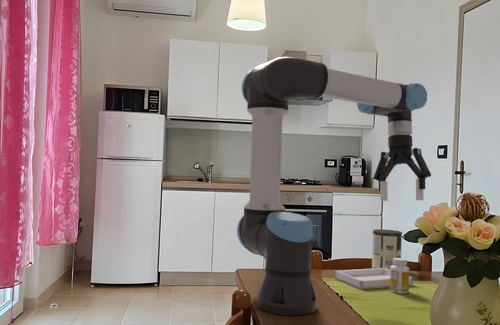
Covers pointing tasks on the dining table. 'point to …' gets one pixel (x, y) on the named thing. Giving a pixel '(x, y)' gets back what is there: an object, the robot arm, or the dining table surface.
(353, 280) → the white tray
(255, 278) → the dining table surface
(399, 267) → the supplement bottle
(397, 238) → the coffee can
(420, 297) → the dining table surface
